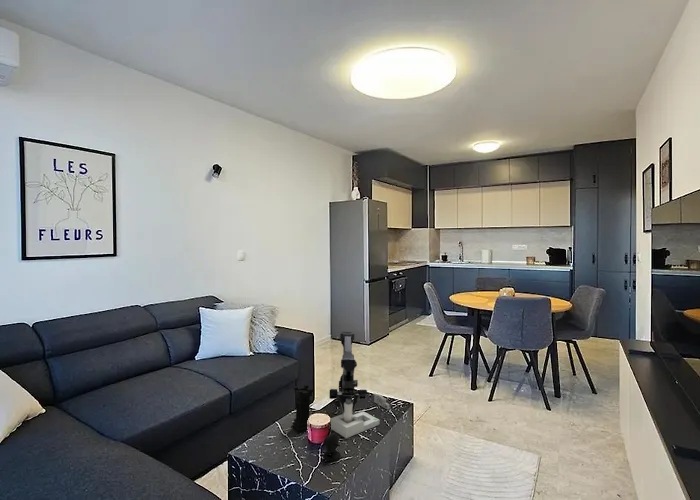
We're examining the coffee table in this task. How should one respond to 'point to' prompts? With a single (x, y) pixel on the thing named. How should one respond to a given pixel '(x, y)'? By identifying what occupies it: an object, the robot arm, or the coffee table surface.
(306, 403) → the chess piece
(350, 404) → the plug
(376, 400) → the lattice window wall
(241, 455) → the coffee table surface
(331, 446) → the webcam
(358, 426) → the jack housing
